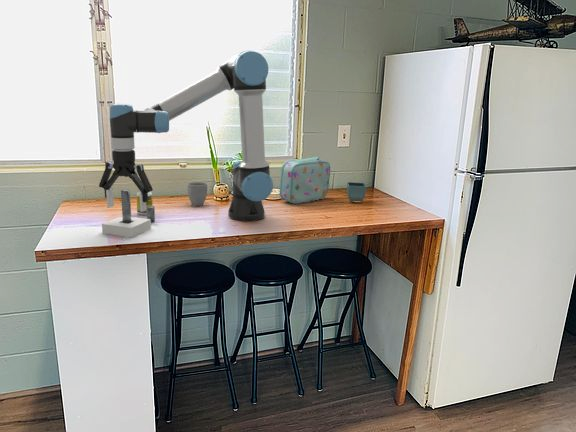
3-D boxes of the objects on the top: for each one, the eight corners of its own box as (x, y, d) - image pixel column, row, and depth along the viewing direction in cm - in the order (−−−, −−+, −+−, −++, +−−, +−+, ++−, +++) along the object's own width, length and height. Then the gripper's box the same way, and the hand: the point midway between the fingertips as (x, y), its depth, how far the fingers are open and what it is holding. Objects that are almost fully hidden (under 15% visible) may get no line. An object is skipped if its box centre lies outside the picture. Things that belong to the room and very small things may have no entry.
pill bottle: (148, 215, 192) (147, 189, 189) (134, 214, 193) (133, 187, 190) (155, 212, 197) (154, 186, 195) (141, 210, 199) (140, 185, 196)
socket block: (151, 228, 175) (150, 219, 174) (132, 237, 164) (131, 227, 163) (123, 224, 178) (122, 215, 177) (102, 233, 167) (101, 223, 166)
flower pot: (365, 204, 227) (367, 186, 225) (347, 203, 227) (348, 185, 225) (363, 200, 235) (364, 182, 233) (345, 199, 235) (346, 182, 233)
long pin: (133, 230, 172) (131, 190, 168) (128, 232, 169) (126, 191, 165) (126, 229, 172) (124, 189, 169) (121, 231, 170) (119, 190, 166)
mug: (210, 206, 211) (210, 185, 209) (191, 207, 207) (190, 186, 205) (201, 200, 221) (201, 180, 219) (183, 201, 217) (182, 181, 215)
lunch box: (315, 195, 242) (318, 154, 236) (330, 199, 234) (333, 156, 229) (276, 202, 224) (278, 157, 219) (291, 206, 217) (293, 160, 211)
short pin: (156, 221, 184) (155, 206, 183) (152, 223, 182) (151, 208, 180) (149, 220, 185) (149, 205, 184) (145, 222, 182) (144, 207, 181)
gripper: (161, 150, 163) (163, 209, 169) (99, 146, 170) (103, 203, 175) (149, 153, 156) (151, 215, 162) (85, 148, 163) (90, 207, 168)
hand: (126, 209), depth 169 cm, fingers open, 13 cm apart
